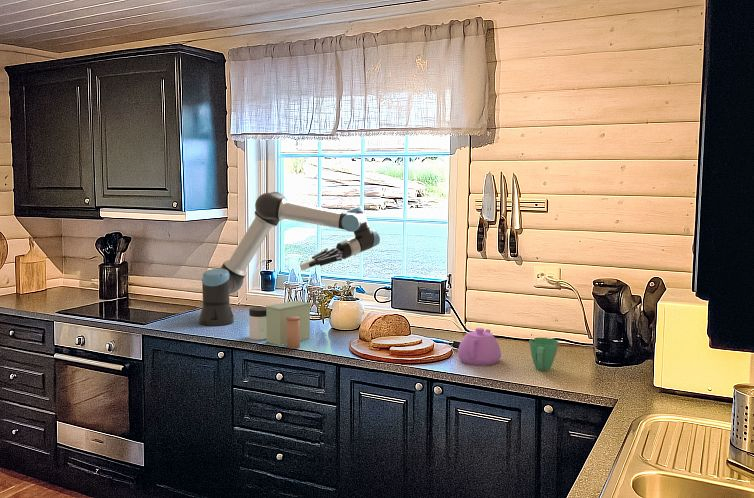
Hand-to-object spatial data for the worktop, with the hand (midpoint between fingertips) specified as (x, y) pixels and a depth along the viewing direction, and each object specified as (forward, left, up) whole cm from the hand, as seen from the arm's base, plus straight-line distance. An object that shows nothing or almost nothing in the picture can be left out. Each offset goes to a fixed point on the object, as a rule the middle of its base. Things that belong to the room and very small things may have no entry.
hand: (301, 267), depth 295 cm
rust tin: (+19, -22, -27) cm, 40 cm away
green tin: (+9, -16, -27) cm, 33 cm away
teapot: (+83, +11, -27) cm, 88 cm away
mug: (+106, +15, -27) cm, 110 cm away
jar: (-2, -21, -27) cm, 34 cm away
